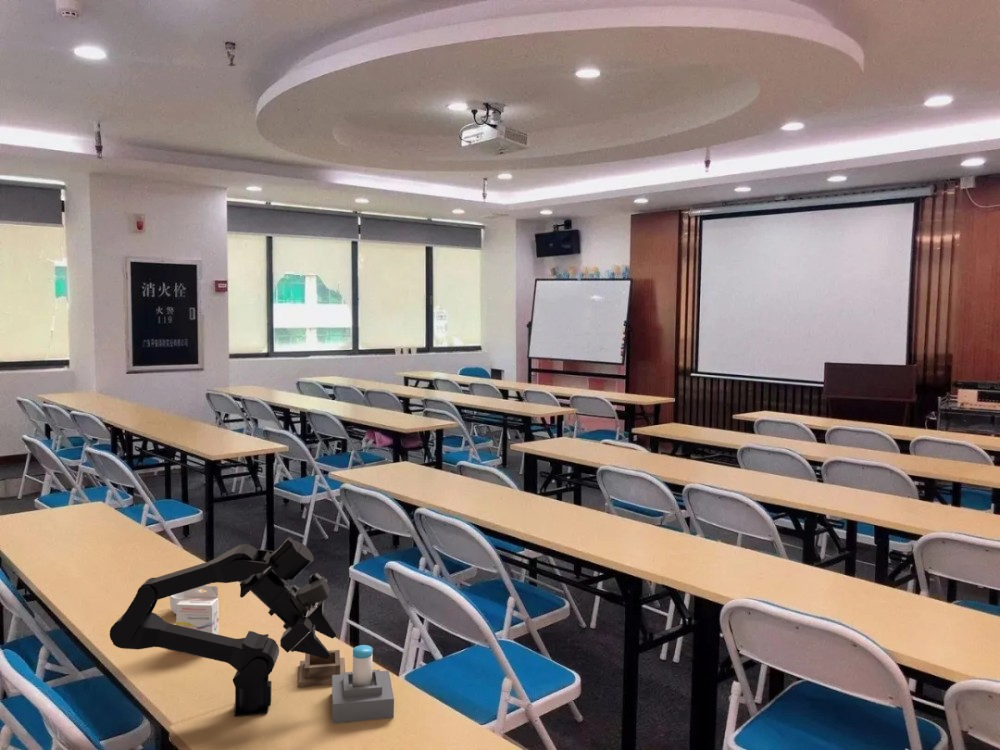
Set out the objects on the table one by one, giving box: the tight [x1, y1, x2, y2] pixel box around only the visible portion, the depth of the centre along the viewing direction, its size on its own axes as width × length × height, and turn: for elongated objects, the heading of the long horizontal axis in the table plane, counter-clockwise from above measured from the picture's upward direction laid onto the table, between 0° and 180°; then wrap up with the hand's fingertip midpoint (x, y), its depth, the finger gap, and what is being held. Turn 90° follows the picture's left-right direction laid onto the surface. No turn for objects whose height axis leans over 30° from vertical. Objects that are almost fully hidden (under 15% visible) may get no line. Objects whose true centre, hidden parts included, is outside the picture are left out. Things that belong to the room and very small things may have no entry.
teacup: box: [169, 589, 202, 615], centre depth 198 cm, size 10×8×5 cm
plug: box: [352, 644, 374, 687], centre depth 154 cm, size 4×4×8 cm
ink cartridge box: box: [175, 584, 220, 635], centre depth 177 cm, size 9×5×15 cm, turn 92°
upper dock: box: [331, 669, 395, 725], centre depth 154 cm, size 12×12×6 cm
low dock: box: [298, 649, 346, 687], centre depth 167 cm, size 10×10×4 cm
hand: (331, 646), depth 153 cm, fingers open, 9 cm apart
